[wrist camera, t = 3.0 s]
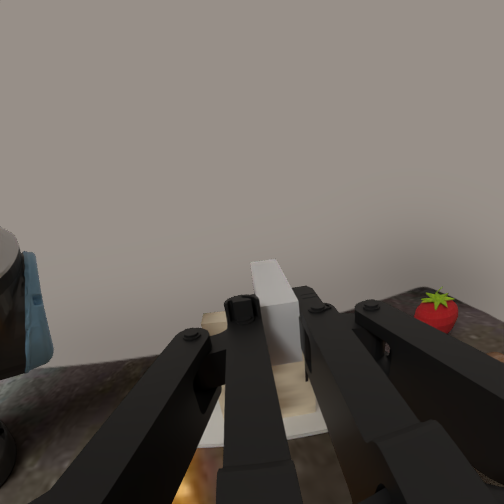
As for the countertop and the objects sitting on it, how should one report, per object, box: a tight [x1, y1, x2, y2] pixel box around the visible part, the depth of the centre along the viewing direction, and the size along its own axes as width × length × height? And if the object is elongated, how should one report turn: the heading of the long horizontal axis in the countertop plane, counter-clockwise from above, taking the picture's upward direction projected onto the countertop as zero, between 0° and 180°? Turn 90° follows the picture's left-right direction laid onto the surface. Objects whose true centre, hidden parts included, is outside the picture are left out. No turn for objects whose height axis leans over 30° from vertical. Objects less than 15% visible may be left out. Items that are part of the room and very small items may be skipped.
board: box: [201, 311, 316, 419], centre depth 28 cm, size 10×2×13 cm, turn 93°
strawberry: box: [414, 288, 458, 334], centre depth 35 cm, size 6×8×10 cm
